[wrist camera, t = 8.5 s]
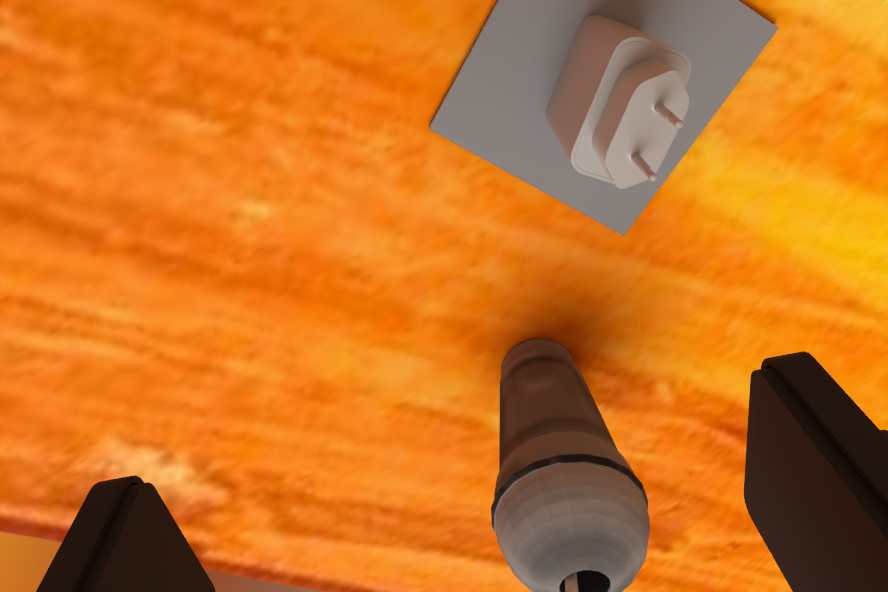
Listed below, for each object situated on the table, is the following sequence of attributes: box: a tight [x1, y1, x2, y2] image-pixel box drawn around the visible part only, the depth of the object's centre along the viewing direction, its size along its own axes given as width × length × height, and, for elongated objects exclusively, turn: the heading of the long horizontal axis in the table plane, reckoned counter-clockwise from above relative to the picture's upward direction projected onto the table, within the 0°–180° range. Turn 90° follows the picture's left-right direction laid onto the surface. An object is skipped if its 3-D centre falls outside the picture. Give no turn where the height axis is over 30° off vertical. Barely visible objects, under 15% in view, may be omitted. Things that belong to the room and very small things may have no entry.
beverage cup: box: [491, 339, 650, 592], centre depth 32 cm, size 7×7×20 cm
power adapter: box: [546, 15, 691, 189], centre depth 26 cm, size 3×5×12 cm, turn 162°
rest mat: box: [429, 0, 779, 236], centre depth 32 cm, size 12×12×1 cm
